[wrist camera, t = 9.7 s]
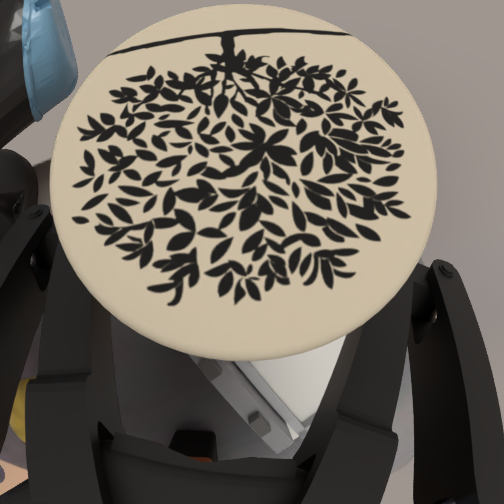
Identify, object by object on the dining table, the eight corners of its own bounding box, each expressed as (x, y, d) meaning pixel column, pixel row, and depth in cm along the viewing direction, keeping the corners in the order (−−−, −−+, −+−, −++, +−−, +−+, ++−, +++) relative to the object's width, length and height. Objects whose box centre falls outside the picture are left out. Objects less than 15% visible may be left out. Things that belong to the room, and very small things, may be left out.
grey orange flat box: (134, 252, 29) (104, 241, 22) (255, 163, 31) (261, 129, 23) (283, 441, 28) (296, 478, 20) (394, 352, 29) (432, 366, 22)
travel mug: (292, 308, 22) (459, 357, 4) (184, 307, 22) (22, 353, 4) (292, 203, 23) (403, 22, 5) (188, 201, 23) (93, 12, 5)
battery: (215, 430, 27) (208, 484, 18) (219, 478, 27) (215, 536, 17) (174, 429, 27) (152, 479, 17) (180, 477, 26) (165, 532, 17)
